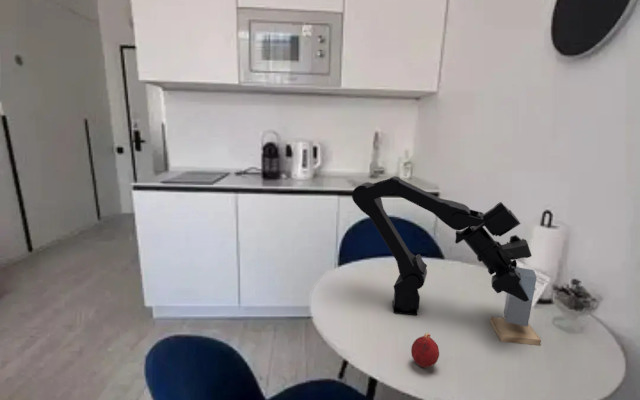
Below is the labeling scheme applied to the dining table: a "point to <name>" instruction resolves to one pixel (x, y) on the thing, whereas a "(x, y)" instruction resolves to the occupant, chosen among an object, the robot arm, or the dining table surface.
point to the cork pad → (514, 332)
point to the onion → (425, 351)
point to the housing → (514, 306)
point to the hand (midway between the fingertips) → (525, 295)
